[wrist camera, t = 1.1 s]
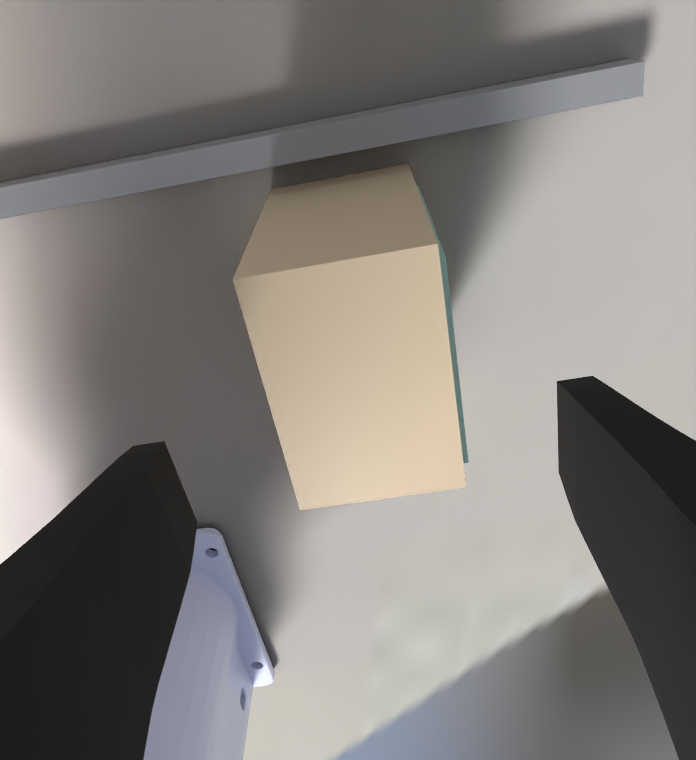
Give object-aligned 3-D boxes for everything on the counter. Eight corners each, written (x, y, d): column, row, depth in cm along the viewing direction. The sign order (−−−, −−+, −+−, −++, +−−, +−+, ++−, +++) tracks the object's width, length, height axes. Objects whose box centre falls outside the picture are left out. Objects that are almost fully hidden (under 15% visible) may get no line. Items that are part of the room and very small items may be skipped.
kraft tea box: (313, 367, 21) (300, 510, 15) (270, 189, 18) (232, 279, 12) (437, 347, 21) (472, 486, 15) (413, 162, 18) (445, 242, 12)
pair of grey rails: (628, 91, 17) (659, 101, 15) (-249, 259, 19) (-307, 284, 18) (642, -330, 13) (687, -380, 11) (-463, -53, 15) (-564, -60, 14)
